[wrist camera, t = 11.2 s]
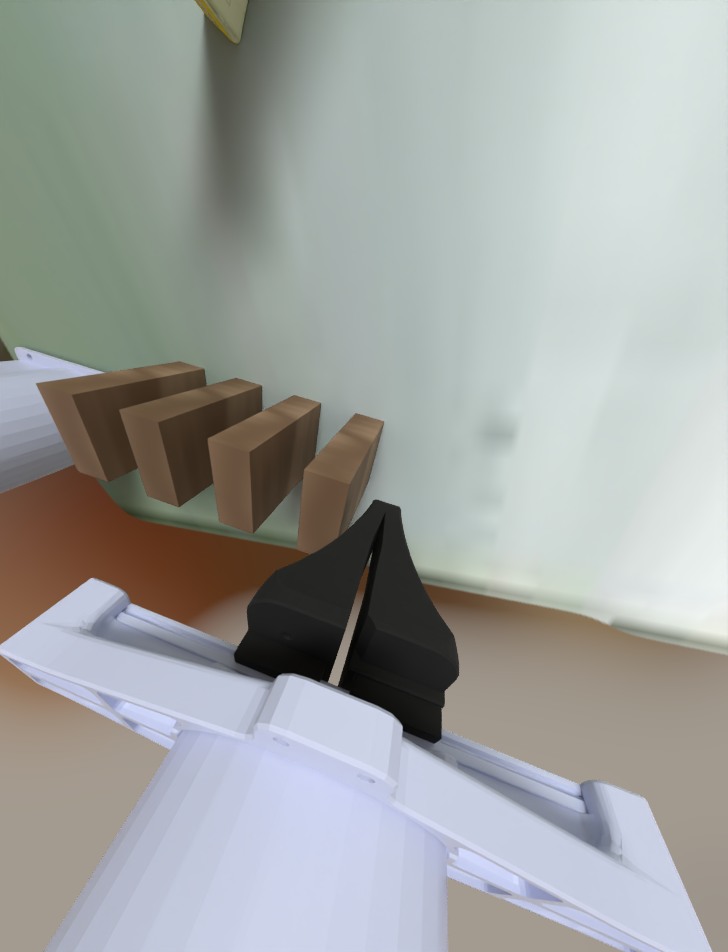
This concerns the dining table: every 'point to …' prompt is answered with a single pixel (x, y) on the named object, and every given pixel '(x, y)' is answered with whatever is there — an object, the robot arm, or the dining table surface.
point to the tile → (185, 435)
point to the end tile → (110, 411)
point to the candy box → (226, 16)
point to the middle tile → (262, 460)
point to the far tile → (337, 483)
